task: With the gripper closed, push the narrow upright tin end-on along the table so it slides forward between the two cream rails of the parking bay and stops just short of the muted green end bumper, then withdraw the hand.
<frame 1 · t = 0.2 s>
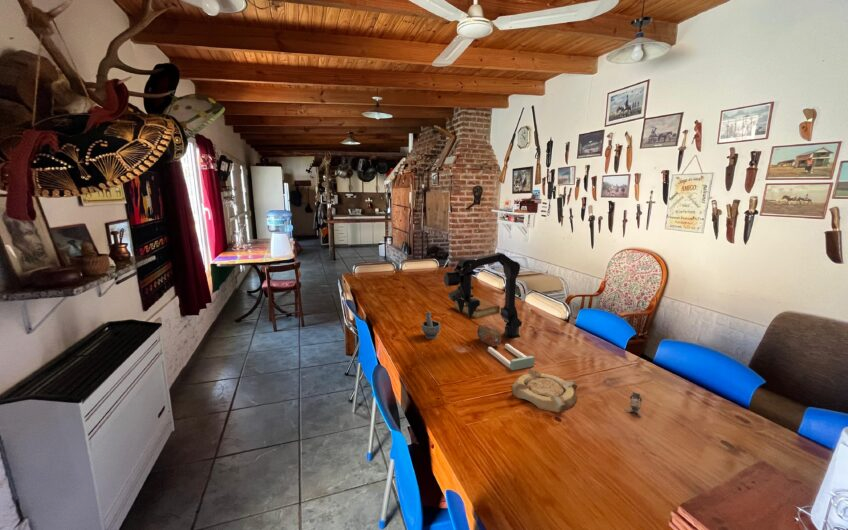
hand: (465, 315, 169), 14 cm above the table, fingers open, 9 cm apart
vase: (634, 410, 117), on the table
bay: (508, 357, 155), on the table
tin: (489, 343, 171), on the table
ashtray: (544, 394, 128), on the table
mortar and pestle: (430, 336, 179), on the table
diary: (475, 311, 220), on the table
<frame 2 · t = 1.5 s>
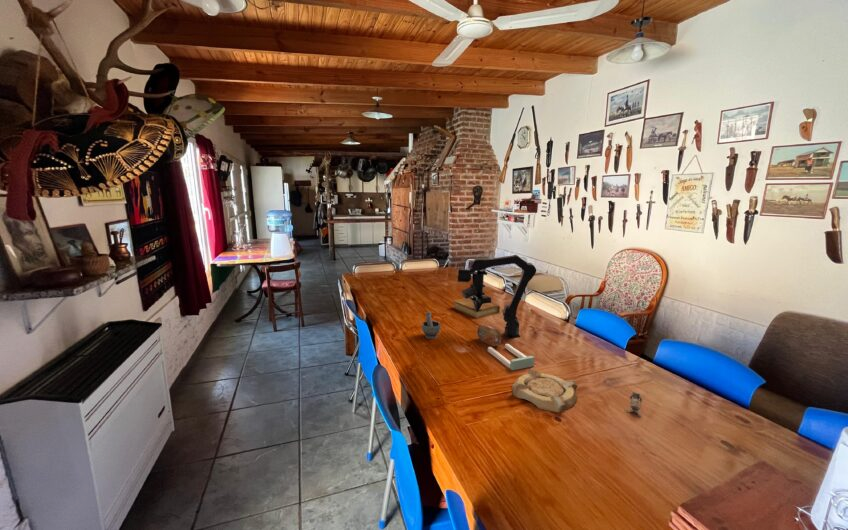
hand: (476, 311, 181), 12 cm above the table, fingers closed
nothing on the table moved.
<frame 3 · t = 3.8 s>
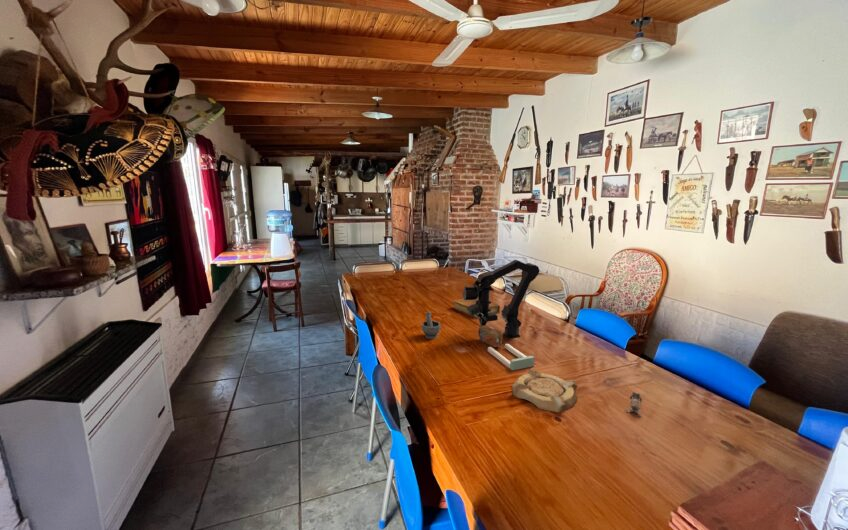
hand: (482, 328, 176), 5 cm above the table, fingers closed
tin: (490, 344, 170), on the table, touching gripper
everything else where it was.
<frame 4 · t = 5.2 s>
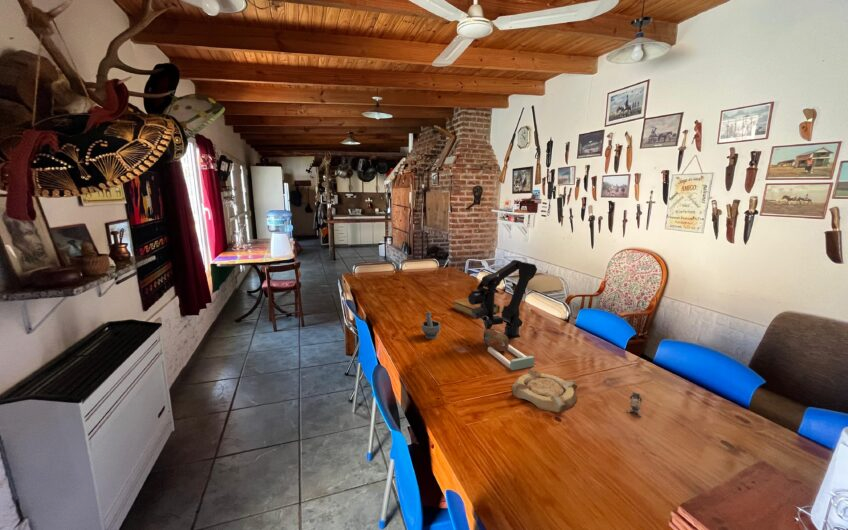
hand: (487, 331, 172), 5 cm above the table, fingers closed
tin: (495, 348, 166), on the table, touching gripper
everything else where it was.
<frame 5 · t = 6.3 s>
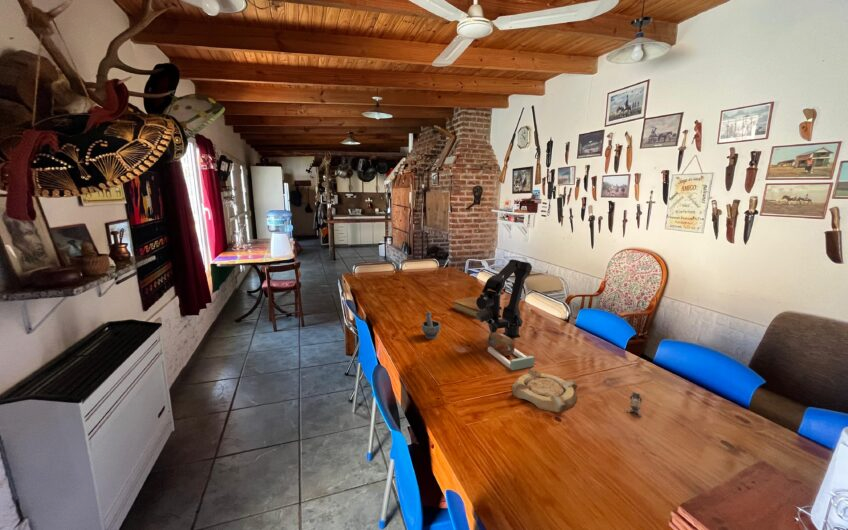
hand: (492, 335, 168), 5 cm above the table, fingers closed
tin: (500, 352, 161), on the table, touching gripper
everything else where it was.
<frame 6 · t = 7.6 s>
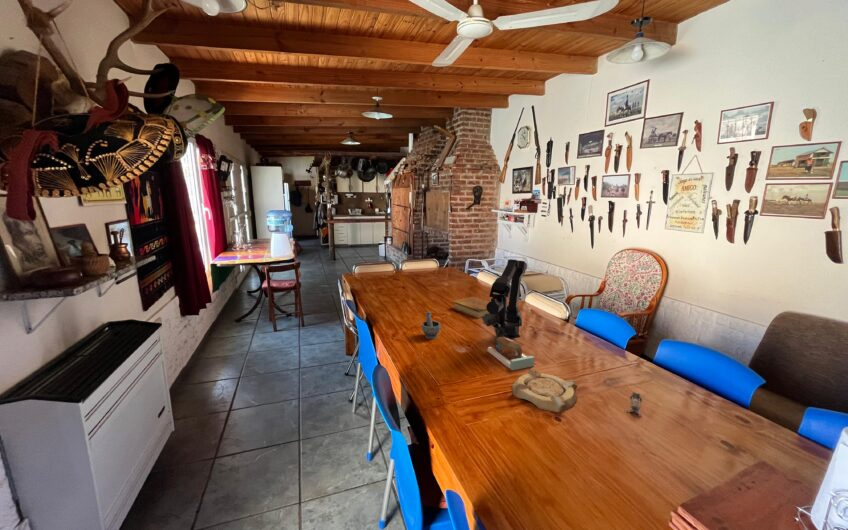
hand: (498, 339, 163), 5 cm above the table, fingers closed
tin: (507, 357, 156), on the table, touching gripper
everything else where it was.
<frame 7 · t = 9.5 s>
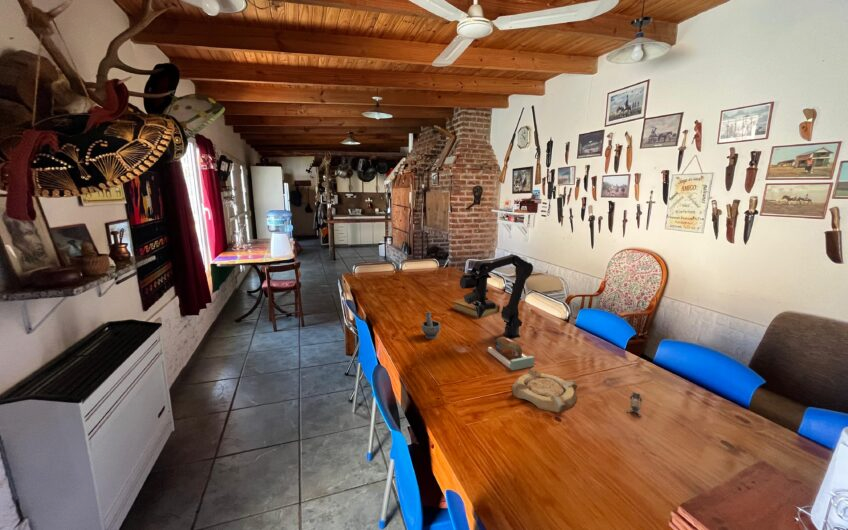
hand: (479, 317, 170), 12 cm above the table, fingers closed
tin: (507, 357, 156), on the table
everything else where it was.
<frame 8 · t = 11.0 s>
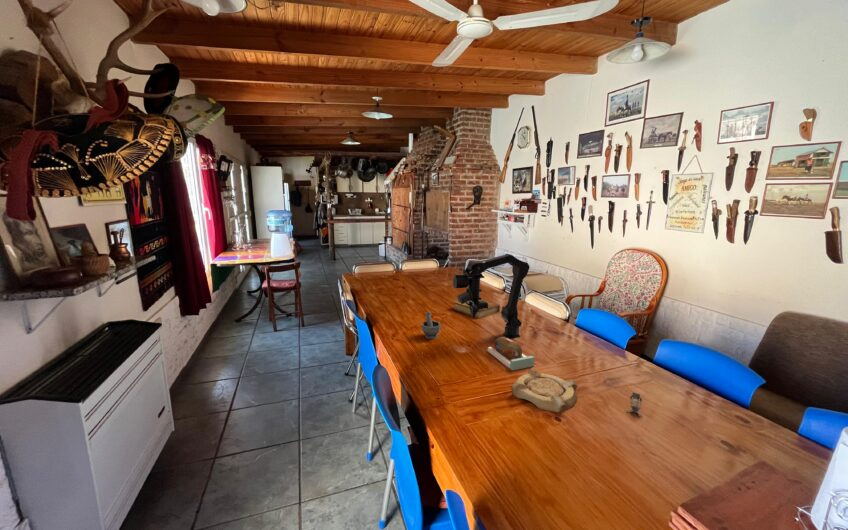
hand: (473, 317, 172), 12 cm above the table, fingers closed
nothing on the table moved.
at the end: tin inside the target area (0.2 cm from its centre), on the table; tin tilted 0°; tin moved 16.3 cm from its start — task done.
